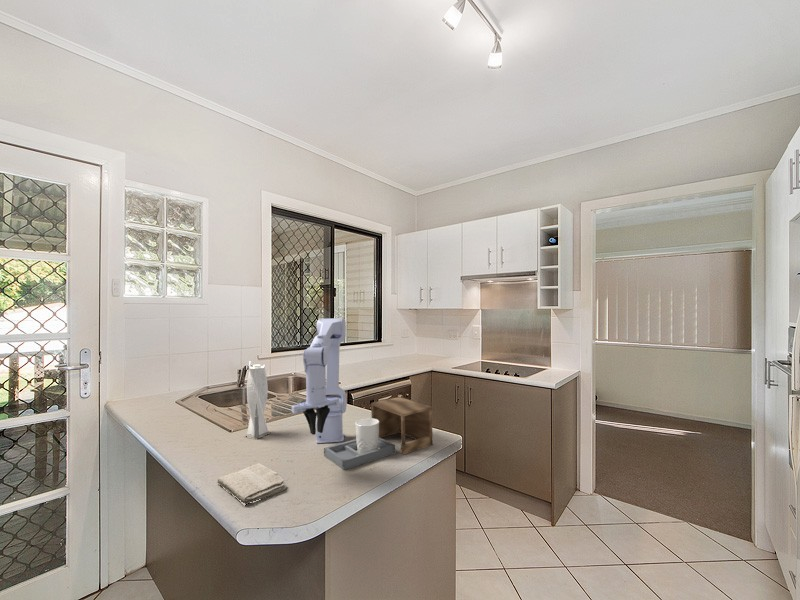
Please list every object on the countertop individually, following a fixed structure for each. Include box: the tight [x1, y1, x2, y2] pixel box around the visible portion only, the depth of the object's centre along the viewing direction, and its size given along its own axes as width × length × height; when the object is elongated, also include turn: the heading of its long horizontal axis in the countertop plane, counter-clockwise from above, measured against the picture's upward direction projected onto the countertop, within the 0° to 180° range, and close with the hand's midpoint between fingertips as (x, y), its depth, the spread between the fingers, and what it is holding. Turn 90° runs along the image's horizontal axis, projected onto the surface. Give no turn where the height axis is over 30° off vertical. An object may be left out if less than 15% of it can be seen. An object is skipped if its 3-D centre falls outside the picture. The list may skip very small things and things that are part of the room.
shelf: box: [370, 396, 434, 455], centre depth 126 cm, size 13×18×13 cm
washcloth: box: [216, 463, 287, 505], centre depth 96 cm, size 12×18×3 cm, turn 49°
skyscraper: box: [245, 360, 272, 440], centre depth 136 cm, size 8×8×28 cm
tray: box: [323, 437, 396, 471], centre depth 115 cm, size 19×13×3 cm
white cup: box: [354, 417, 379, 454], centre depth 117 cm, size 8×8×10 cm
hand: (316, 432), depth 106 cm, fingers closed
